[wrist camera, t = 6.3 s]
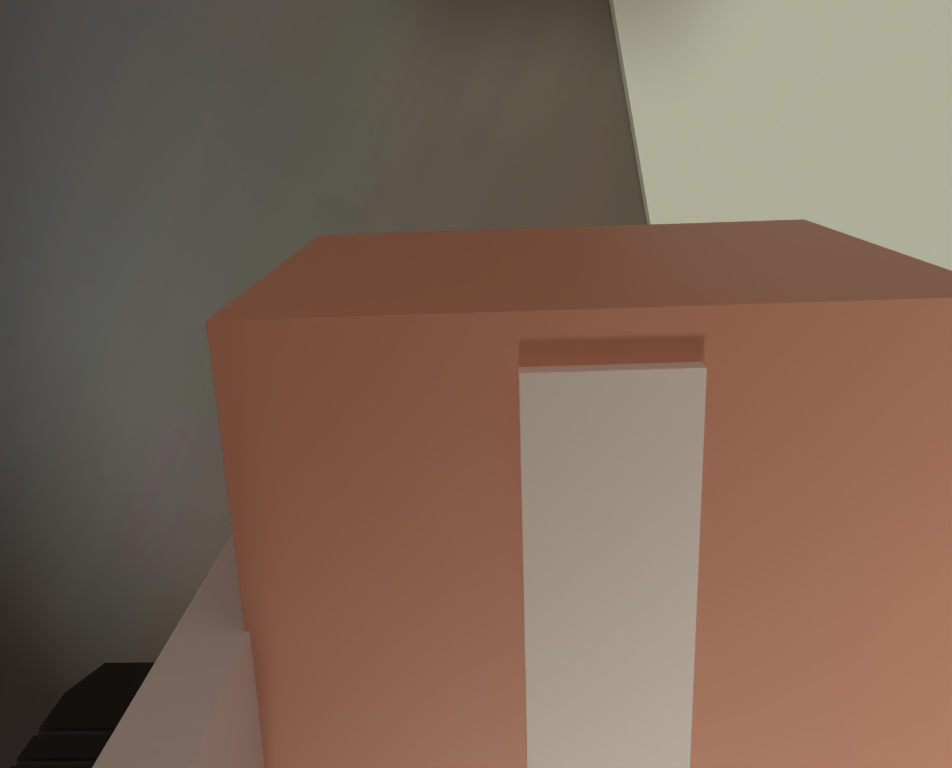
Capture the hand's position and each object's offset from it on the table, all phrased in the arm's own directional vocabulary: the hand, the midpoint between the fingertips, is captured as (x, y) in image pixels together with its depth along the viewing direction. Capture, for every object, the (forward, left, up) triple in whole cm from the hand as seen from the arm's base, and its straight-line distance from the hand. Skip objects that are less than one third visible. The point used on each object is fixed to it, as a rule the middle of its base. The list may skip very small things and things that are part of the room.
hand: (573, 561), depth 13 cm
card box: (0, 0, -2) cm, 2 cm away
